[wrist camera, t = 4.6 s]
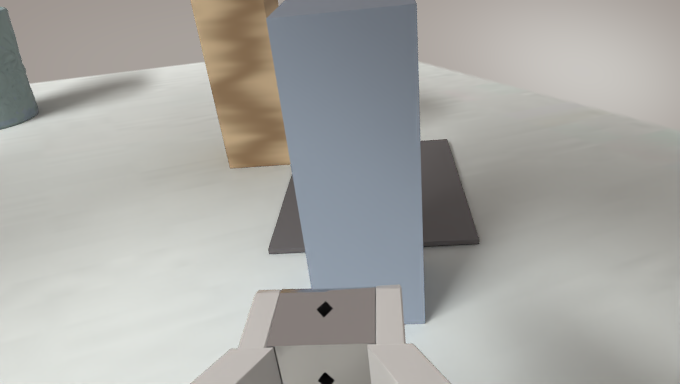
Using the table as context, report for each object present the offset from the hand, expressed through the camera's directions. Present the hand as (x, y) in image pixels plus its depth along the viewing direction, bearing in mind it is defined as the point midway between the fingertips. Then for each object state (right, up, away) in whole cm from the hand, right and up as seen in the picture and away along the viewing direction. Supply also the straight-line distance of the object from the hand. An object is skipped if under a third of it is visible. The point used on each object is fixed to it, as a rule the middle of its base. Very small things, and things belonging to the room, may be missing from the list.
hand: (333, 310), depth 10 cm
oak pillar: (-6, +6, +31) cm, 33 cm away
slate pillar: (+2, -3, +15) cm, 15 cm away
